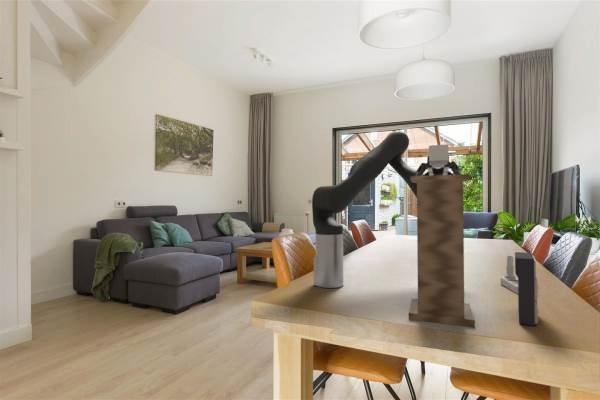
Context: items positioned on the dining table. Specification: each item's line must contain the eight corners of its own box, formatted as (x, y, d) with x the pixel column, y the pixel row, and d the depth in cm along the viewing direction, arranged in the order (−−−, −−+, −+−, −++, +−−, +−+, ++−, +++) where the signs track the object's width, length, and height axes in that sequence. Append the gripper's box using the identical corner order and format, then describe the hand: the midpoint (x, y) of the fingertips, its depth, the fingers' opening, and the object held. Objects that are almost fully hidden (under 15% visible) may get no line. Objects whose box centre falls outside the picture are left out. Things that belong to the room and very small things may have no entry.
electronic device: (519, 264, 100) (498, 254, 115) (519, 297, 101) (497, 283, 116) (539, 264, 100) (515, 255, 115) (538, 297, 100) (514, 284, 115)
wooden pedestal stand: (408, 319, 80) (407, 175, 81) (412, 303, 93) (411, 179, 93) (474, 326, 75) (473, 173, 75) (468, 309, 88) (467, 177, 88)
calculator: (539, 327, 75) (538, 259, 75) (515, 323, 77) (515, 257, 77) (536, 313, 84) (535, 252, 84) (515, 310, 86) (514, 251, 87)
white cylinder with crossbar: (430, 168, 104) (430, 156, 104) (445, 167, 102) (445, 155, 102) (429, 160, 84) (428, 145, 84) (448, 160, 83) (448, 144, 83)
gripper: (415, 179, 116) (412, 147, 102) (461, 178, 110) (464, 144, 96) (414, 198, 112) (411, 168, 98) (462, 197, 107) (466, 165, 93)
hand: (438, 156), depth 97 cm, fingers closed on white cylinder with crossbar, 3 cm apart
